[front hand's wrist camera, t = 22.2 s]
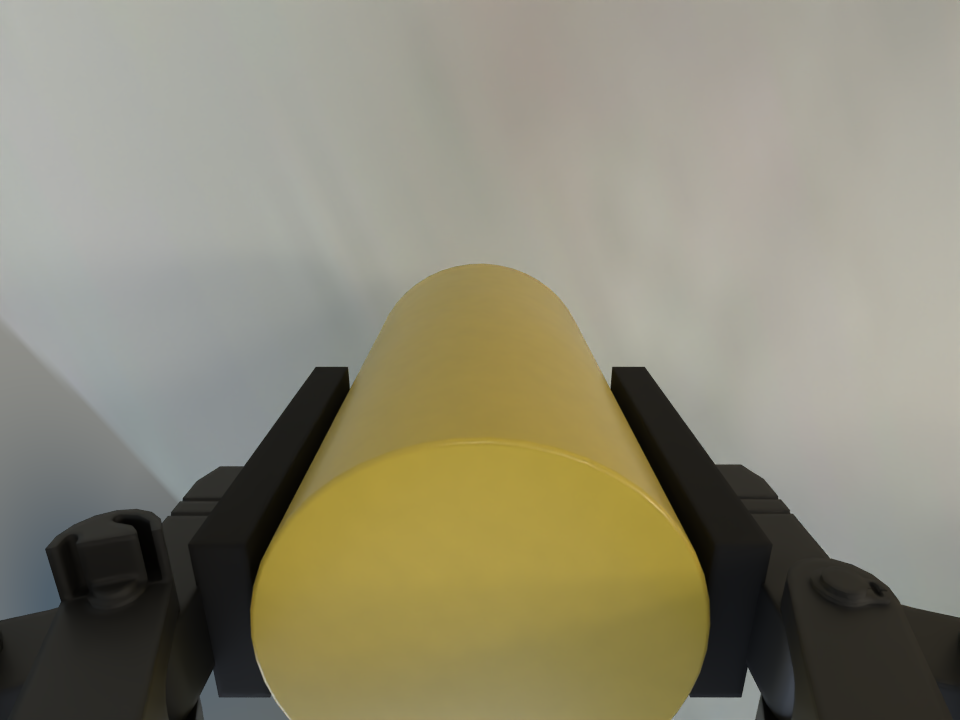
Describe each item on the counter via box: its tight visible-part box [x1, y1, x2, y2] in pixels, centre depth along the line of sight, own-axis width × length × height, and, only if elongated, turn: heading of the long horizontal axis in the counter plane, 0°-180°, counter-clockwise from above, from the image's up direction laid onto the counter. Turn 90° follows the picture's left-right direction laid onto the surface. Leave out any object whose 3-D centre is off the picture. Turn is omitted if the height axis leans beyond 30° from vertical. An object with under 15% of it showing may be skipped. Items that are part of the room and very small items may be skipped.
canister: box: [250, 264, 710, 720], centre depth 13 cm, size 6×6×10 cm
